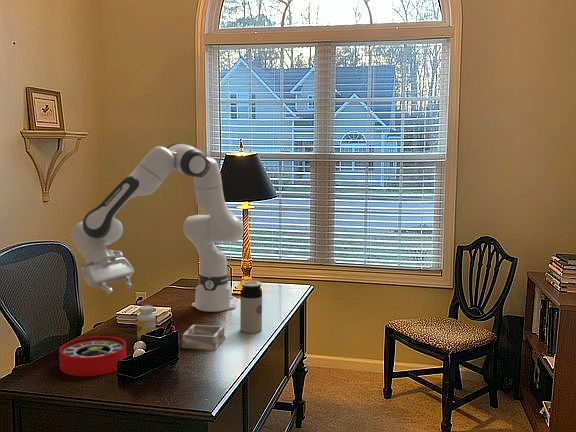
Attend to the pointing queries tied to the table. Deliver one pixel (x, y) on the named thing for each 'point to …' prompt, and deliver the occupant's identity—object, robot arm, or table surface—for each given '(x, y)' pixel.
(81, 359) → the toy clock
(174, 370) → the table surface
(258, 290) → the travel mug
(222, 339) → the grey square tray
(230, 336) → the table surface
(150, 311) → the pill bottle
